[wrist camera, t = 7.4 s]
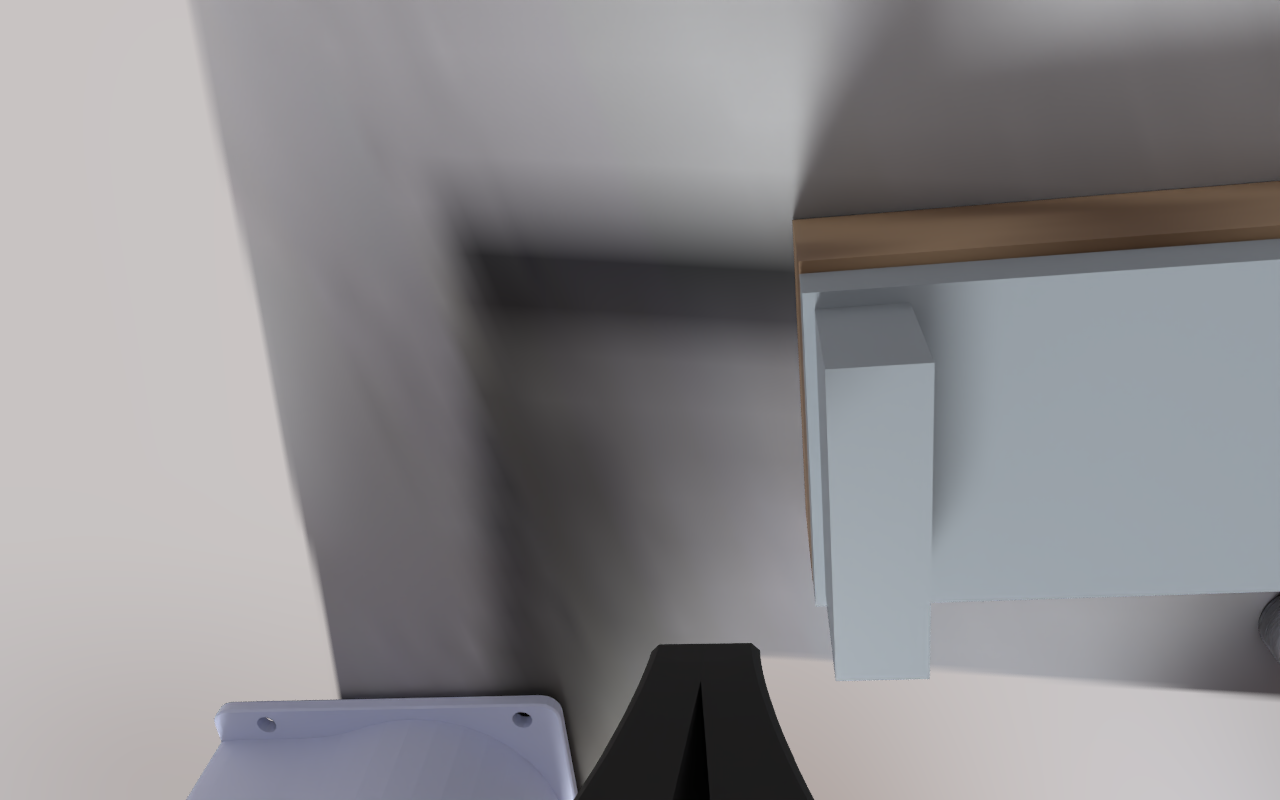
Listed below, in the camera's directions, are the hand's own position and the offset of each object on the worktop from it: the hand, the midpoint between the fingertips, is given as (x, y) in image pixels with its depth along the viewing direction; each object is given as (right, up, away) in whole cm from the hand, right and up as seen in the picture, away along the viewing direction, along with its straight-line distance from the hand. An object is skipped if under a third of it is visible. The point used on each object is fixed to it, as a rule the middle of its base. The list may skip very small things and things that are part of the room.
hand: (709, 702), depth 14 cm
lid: (+7, +4, +5) cm, 10 cm away
